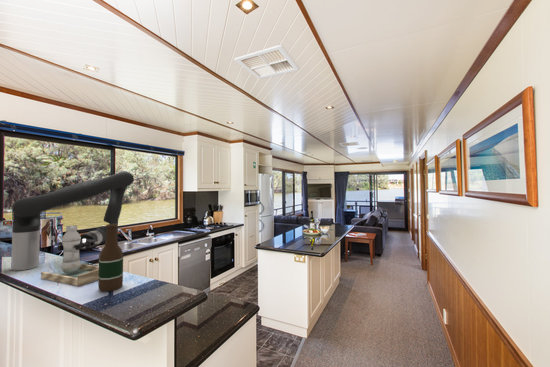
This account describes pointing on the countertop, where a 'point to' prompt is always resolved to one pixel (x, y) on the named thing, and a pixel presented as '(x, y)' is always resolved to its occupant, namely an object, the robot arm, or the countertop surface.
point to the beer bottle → (110, 262)
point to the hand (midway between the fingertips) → (67, 247)
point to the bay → (75, 275)
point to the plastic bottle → (71, 250)
